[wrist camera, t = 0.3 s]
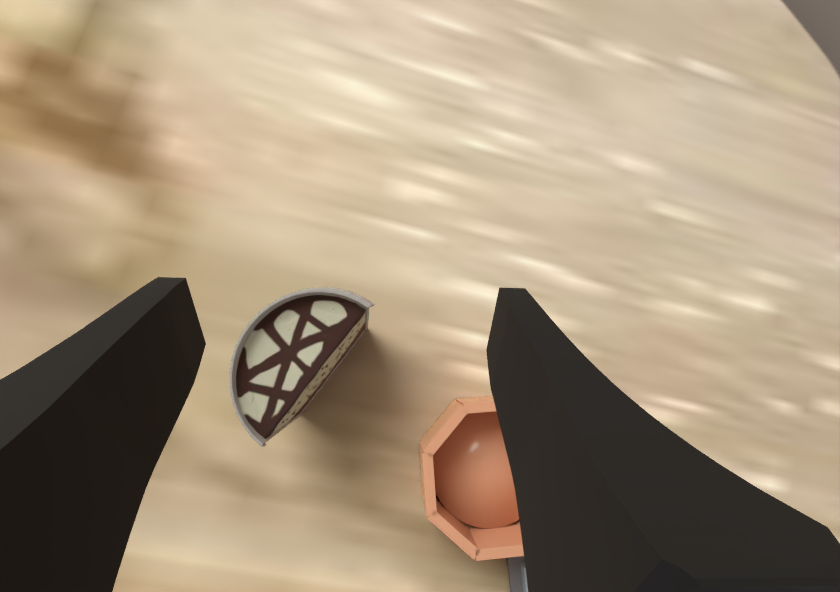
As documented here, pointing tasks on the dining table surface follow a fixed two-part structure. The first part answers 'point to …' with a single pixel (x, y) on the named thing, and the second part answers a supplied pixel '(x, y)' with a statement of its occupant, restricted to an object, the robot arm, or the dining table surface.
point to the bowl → (471, 480)
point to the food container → (292, 355)
